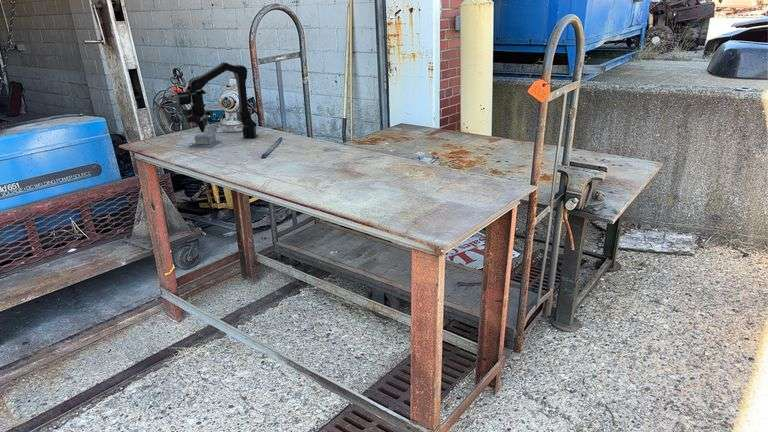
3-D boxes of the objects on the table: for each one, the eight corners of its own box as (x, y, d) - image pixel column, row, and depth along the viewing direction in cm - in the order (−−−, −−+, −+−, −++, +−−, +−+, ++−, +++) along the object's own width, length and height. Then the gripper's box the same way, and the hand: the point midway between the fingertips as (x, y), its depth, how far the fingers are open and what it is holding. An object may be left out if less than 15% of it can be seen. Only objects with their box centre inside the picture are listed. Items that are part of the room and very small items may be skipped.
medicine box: (203, 140, 305) (195, 144, 297) (202, 132, 303) (194, 136, 296) (216, 140, 303) (208, 145, 296) (215, 132, 302) (207, 136, 294)
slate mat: (220, 141, 303) (220, 141, 302) (211, 147, 292) (210, 147, 292) (199, 141, 305) (198, 140, 305) (188, 147, 294) (188, 146, 294)
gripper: (192, 99, 299) (196, 127, 305) (174, 106, 282) (180, 136, 288) (211, 99, 297) (215, 128, 303) (195, 106, 280) (199, 136, 286)
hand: (202, 132), depth 295 cm, fingers closed
